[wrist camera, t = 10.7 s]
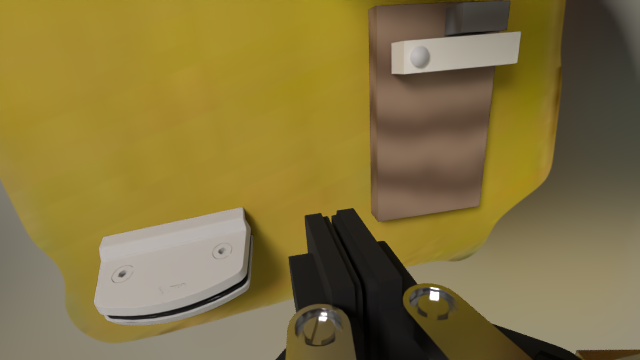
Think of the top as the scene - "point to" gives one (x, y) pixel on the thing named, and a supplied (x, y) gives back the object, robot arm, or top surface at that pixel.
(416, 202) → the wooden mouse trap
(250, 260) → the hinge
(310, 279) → the robot arm
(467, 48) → the folding leg
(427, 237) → the top surface
